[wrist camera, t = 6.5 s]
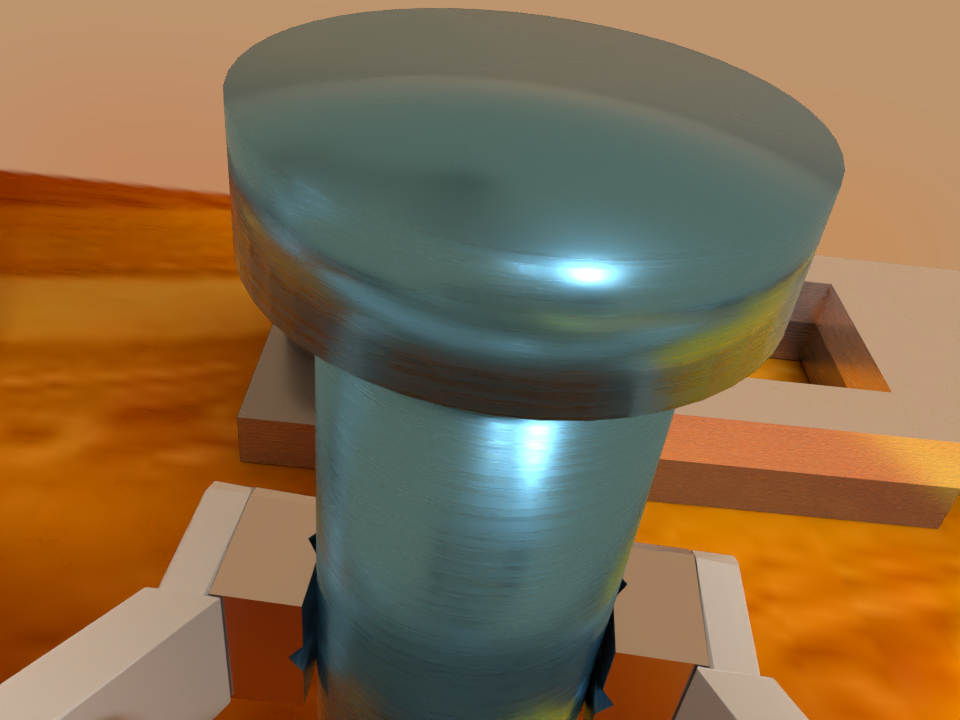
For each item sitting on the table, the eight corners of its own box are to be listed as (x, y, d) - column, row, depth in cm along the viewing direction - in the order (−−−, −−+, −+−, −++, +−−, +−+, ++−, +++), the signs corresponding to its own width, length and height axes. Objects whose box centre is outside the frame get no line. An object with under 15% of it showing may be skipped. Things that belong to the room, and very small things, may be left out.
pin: (222, 939, 14) (79, 77, 6) (397, 737, 17) (469, -18, 9) (439, 1155, 12) (684, 353, 4) (592, 886, 15) (913, 114, 7)
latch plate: (240, 461, 23) (232, 352, 21) (305, 279, 30) (304, 185, 28) (1278, 561, 24) (1370, 468, 22) (1100, 363, 31) (1155, 278, 29)
